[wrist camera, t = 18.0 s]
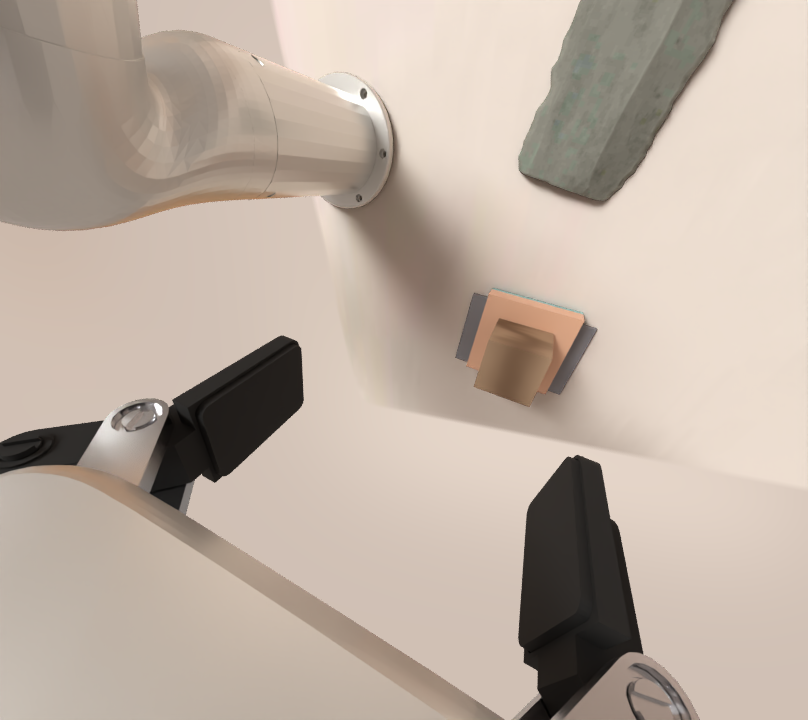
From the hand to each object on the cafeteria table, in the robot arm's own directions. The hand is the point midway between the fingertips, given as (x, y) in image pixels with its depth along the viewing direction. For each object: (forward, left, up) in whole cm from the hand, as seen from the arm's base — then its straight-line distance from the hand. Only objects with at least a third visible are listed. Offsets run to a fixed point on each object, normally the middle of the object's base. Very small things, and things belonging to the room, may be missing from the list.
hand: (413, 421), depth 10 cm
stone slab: (+3, +18, -30) cm, 35 cm away
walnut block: (+4, -9, -26) cm, 28 cm away
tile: (+4, -4, -27) cm, 28 cm away
